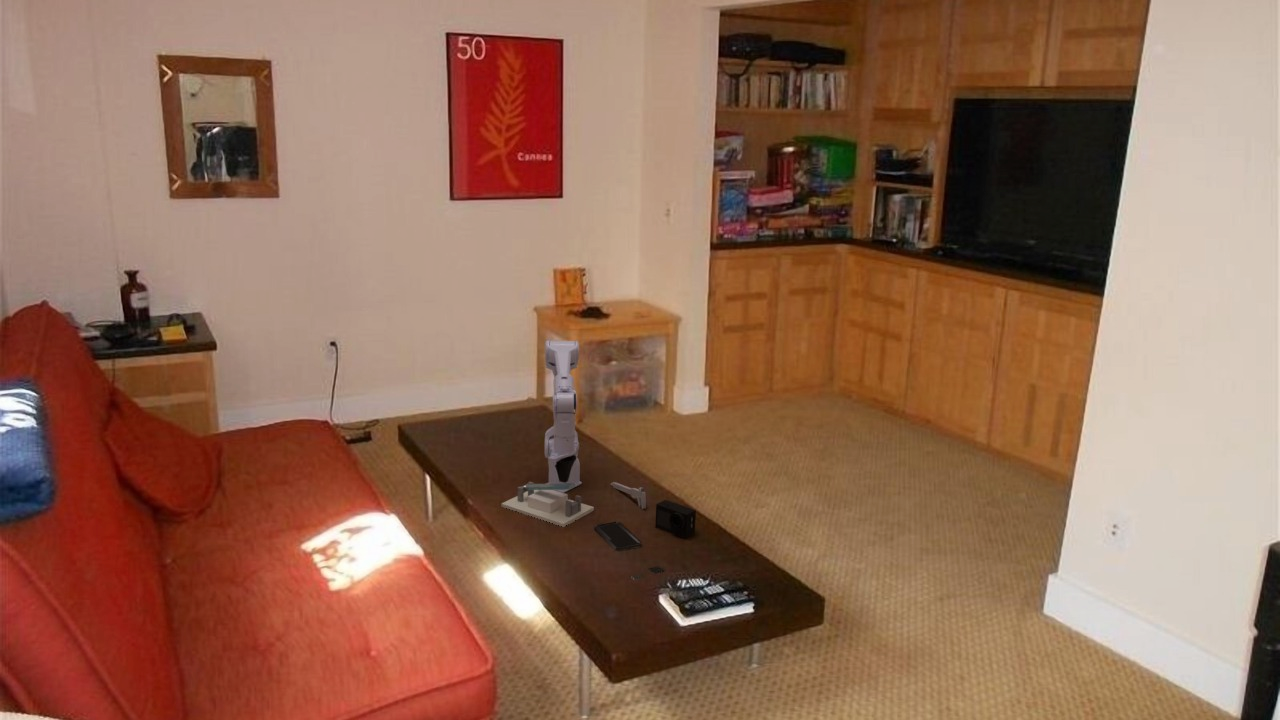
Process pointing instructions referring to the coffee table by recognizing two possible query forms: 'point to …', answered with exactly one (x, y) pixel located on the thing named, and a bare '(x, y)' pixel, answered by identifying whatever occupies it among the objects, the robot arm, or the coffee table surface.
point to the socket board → (543, 515)
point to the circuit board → (653, 569)
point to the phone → (617, 536)
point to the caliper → (633, 493)
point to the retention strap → (548, 486)
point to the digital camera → (675, 518)
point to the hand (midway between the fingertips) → (563, 481)
